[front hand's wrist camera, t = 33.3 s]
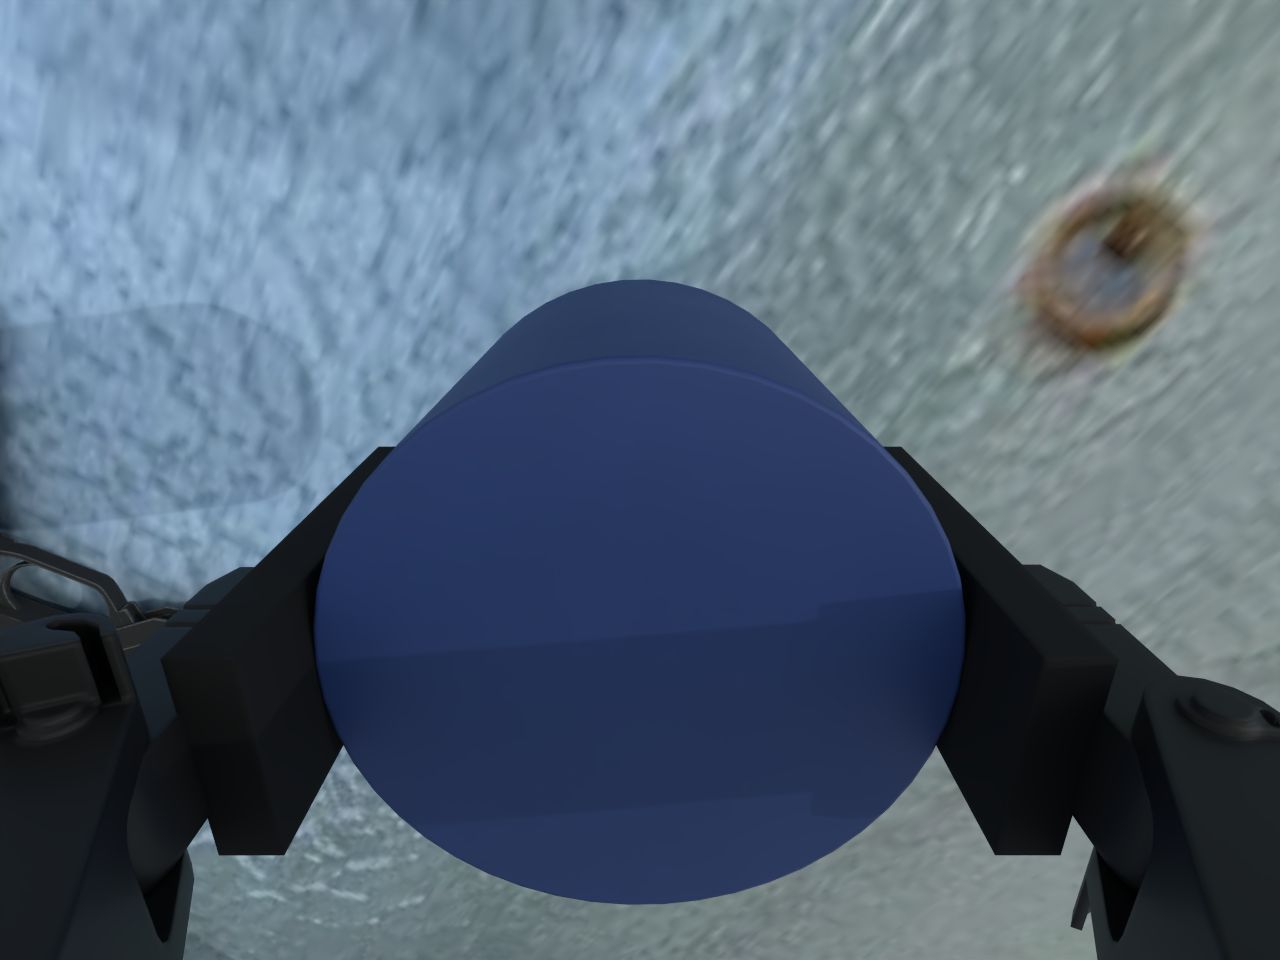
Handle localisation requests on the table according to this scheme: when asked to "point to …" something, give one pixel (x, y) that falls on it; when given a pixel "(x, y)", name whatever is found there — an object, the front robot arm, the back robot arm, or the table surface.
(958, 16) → the table surface
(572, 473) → the cylinder
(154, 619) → the handgun
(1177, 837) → the front robot arm
